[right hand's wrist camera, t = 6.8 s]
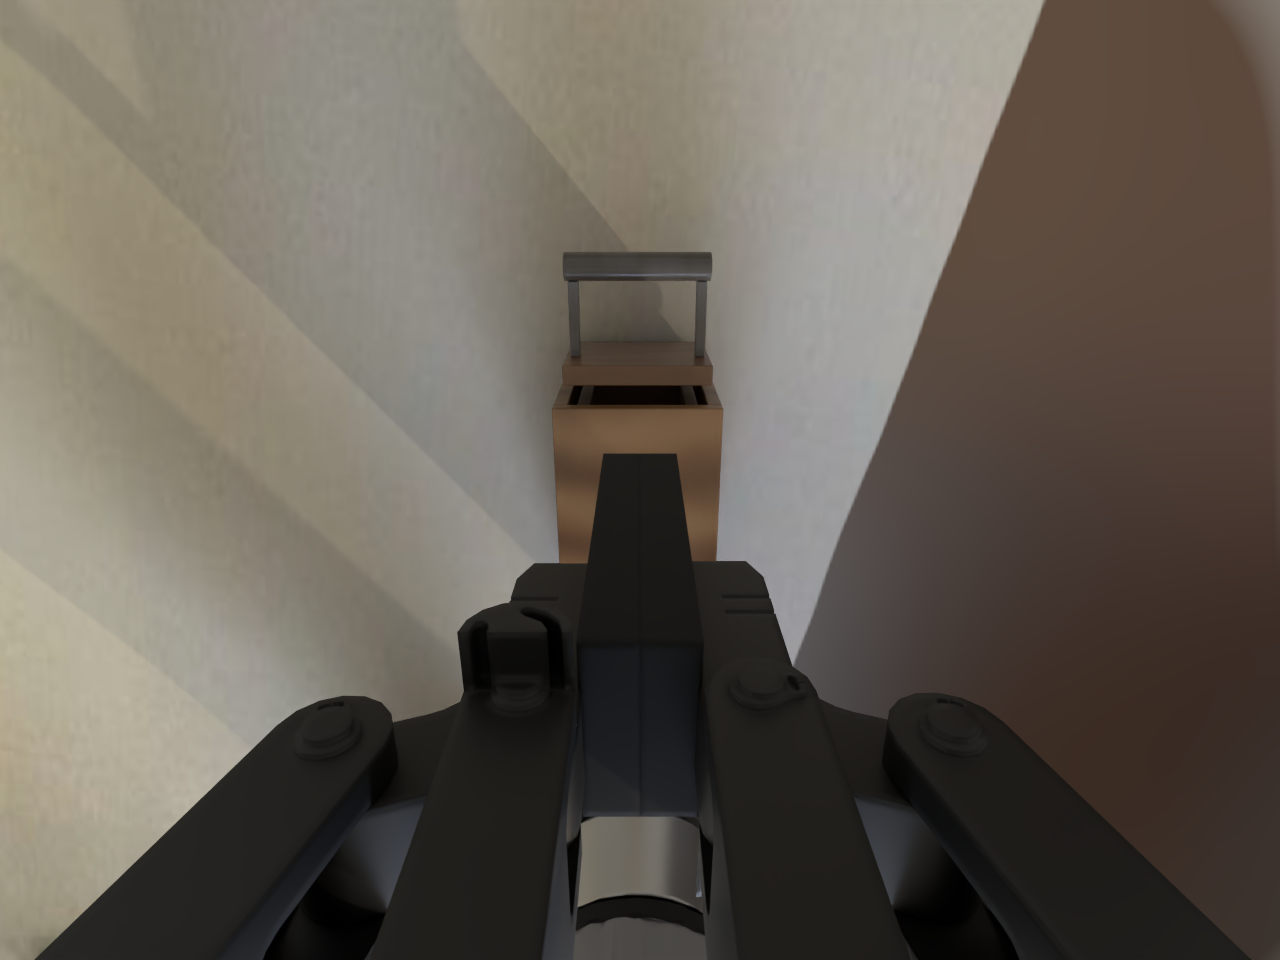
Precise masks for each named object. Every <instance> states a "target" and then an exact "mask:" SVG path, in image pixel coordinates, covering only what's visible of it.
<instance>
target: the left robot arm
mask: <svg viewBox="0 0 1280 960" xmlns="http://www.w3.org/2000/svg"><path fill="white" fill-rule="evenodd" d="M581 838H582V861H581V873H580V884H579V896H578V908H577V920H576V931H575V943H574V955H573V960H707V954H706V942H705V930H704V919H703V907H702V897H696V885H697V862H698V838H699V813H698V803H697V817H583V806H582V817H581Z"/></svg>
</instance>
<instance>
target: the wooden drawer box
mask: <svg viewBox="0 0 1280 960" xmlns="http://www.w3.org/2000/svg"><path fill="white" fill-rule="evenodd" d="M582 388H583V386H564V385H563V383H562V386H561V388H560V391H559V393H558V396H557V398H556V401H555V403H554V406H553V408H552V419H553V440H554V460H555V481H556V502H557V522H558V543H559V563H588V556H589V549H590V542H591V535H592V528H593V522H594V515H595V508H596V501H597V494H598V487H599V480H600V473H601V466H602V459H603V453H677V459H678V466H679V473H680V480H681V487H682V494H683V501H684V508H685V515H686V522H687V528H688V535H689V542H690V549H691V556H692V561H716V553H717V532H718V510H719V488H720V467H721V445H722V423H723V408H722V405H721V403H720V400H719V398H718V395H717V393H716V390H715V388H714V385H713V382H712V385H711V386H693V390H694V394H695V397H696V401H697V404H698V405H578V401H579V398H580V395H581V391H582Z"/></svg>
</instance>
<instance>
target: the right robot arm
mask: <svg viewBox="0 0 1280 960" xmlns="http://www.w3.org/2000/svg"><path fill="white" fill-rule="evenodd" d="M457 634H458V642H459V651H460V660H461V669H462V677H463V686H464V693H463V696H462V699H461V701H460V702H459V703H457V704H455V705H453V706H451V707H449V708H447V709H444V710H441V711H438V712H435V713H432V714H428V715H424V716H420V717H416V718H411V719H407V720H402V721H398V722H392V716H391V713H390V712H389V711H388V709H387V708H386V707H385V706H384V705H383V704H382V703H381V702H379V701H376V700H373V699H371V698H368V697H365V696H340V697H335V698H331V699H326V700H321V701H318V702H316V703H314V704H311V705H309V706H307V707H304V708H302V709H300V710H298V711H296V712H295V713H293V714H292V715H290V716H289V717H288V718H286V719H285V720H284V721H282V722H281V723H280V724H278V725H277V726H276V727H275V728H274V729H273V730H272V731H271V732H270V733H269V734H268V735H267V736H266V737H265V738H264V739H263V740H262V741H260V742H259V743H258V744H257V745H256V746H255V747H254V748H253V749H252V750H251V751H250V752H249V753H248V754H247V755H246V756H245V757H244V758H243V759H242V760H241V761H240V762H239V763H238V764H237V765H236V766H235V767H234V768H233V769H232V770H230V771H229V772H228V773H227V774H226V775H225V776H224V777H223V778H222V779H221V780H220V781H219V782H218V783H217V784H216V785H215V786H214V787H213V788H212V789H211V790H210V791H209V792H208V793H207V794H206V795H205V796H204V797H203V798H201V799H200V800H199V801H198V802H197V803H196V804H195V805H194V806H193V807H192V808H191V809H190V810H189V811H188V812H187V813H186V814H185V815H184V816H183V817H182V818H181V819H180V820H179V821H178V822H177V823H176V824H175V825H174V826H172V827H171V828H170V829H169V830H168V831H167V832H166V833H165V834H164V835H163V836H162V837H161V838H160V839H159V840H158V841H157V842H156V843H155V844H154V845H153V846H152V847H151V848H150V849H149V850H148V851H147V852H146V853H145V854H143V855H142V856H141V857H140V858H139V859H138V860H137V861H136V862H135V863H134V864H133V865H132V866H131V867H130V868H129V869H128V870H127V871H126V872H125V873H124V874H123V875H122V876H121V877H120V878H119V879H118V880H117V881H116V882H115V883H113V884H112V885H111V886H110V887H109V888H108V889H107V890H106V891H105V892H104V893H103V894H102V895H101V896H100V897H99V898H98V899H97V900H96V901H95V902H94V903H93V904H92V905H91V906H90V907H89V908H88V909H87V910H86V911H84V912H83V913H82V914H81V915H80V916H79V917H78V918H77V919H76V920H75V921H74V922H73V923H72V924H71V925H70V926H69V927H68V928H67V929H66V930H65V931H64V932H63V933H62V934H61V935H60V936H59V937H58V938H57V939H55V940H54V941H53V942H52V943H51V944H50V945H49V946H48V947H47V948H46V949H45V950H44V951H43V952H42V953H41V954H40V955H39V956H38V957H37V958H36V959H35V960H573V955H574V943H575V931H576V920H577V908H578V896H579V884H580V873H581V861H582V838H581V817H582V806H583V817H697V803H698V813H699V838H698V862H697V885H696V897H702V907H703V919H704V930H705V942H706V954H707V960H1251V959H1250V958H1249V957H1248V956H1247V955H1246V954H1245V953H1244V952H1243V951H1242V950H1241V949H1240V948H1239V947H1238V946H1236V945H1235V944H1234V943H1233V942H1232V941H1231V940H1230V939H1229V938H1228V937H1227V936H1226V935H1225V934H1224V933H1223V932H1222V931H1221V930H1220V929H1219V928H1218V927H1217V926H1216V925H1215V924H1214V923H1212V922H1211V921H1210V920H1209V919H1208V918H1207V917H1206V916H1205V915H1204V914H1203V913H1202V912H1201V911H1200V910H1199V909H1198V908H1197V907H1196V906H1195V905H1194V904H1193V903H1192V902H1191V901H1190V900H1188V899H1187V898H1186V897H1185V896H1184V895H1183V894H1182V893H1181V892H1180V891H1179V890H1178V889H1177V888H1176V887H1175V886H1174V885H1173V884H1172V883H1171V882H1170V881H1169V880H1168V879H1167V878H1166V877H1165V876H1163V875H1162V874H1161V873H1160V872H1159V871H1158V870H1157V869H1156V868H1155V867H1154V866H1153V865H1152V864H1151V863H1150V862H1149V861H1148V860H1147V859H1146V858H1145V857H1144V856H1143V855H1142V854H1140V853H1139V852H1138V851H1137V850H1136V849H1135V848H1134V847H1133V846H1132V845H1131V844H1130V843H1129V842H1128V841H1127V840H1126V839H1125V838H1124V837H1123V836H1122V835H1121V834H1120V833H1119V832H1118V831H1116V830H1115V829H1114V828H1113V827H1112V826H1111V825H1110V824H1109V823H1108V822H1107V821H1106V820H1105V819H1104V818H1103V817H1102V816H1101V815H1100V814H1099V813H1098V812H1097V811H1096V810H1095V809H1094V808H1093V807H1091V806H1090V805H1089V804H1088V803H1087V802H1086V801H1085V800H1084V799H1083V798H1082V797H1081V796H1080V795H1079V794H1078V793H1077V792H1076V791H1075V790H1074V789H1073V788H1072V787H1071V786H1070V785H1069V784H1067V783H1066V782H1065V781H1064V780H1063V779H1062V778H1061V777H1060V776H1059V775H1058V774H1057V773H1056V772H1055V771H1054V770H1053V769H1052V768H1051V767H1050V766H1049V765H1048V764H1047V763H1046V762H1045V761H1043V760H1042V759H1041V758H1040V757H1039V756H1038V755H1037V754H1036V753H1035V752H1034V751H1033V750H1032V749H1031V748H1030V747H1029V746H1028V745H1027V744H1026V743H1025V742H1024V741H1023V740H1022V739H1021V738H1020V737H1018V736H1017V735H1016V734H1015V733H1014V732H1013V731H1012V730H1011V729H1010V728H1009V727H1008V726H1007V725H1006V724H1005V723H1004V722H1003V721H1001V720H1000V719H999V718H997V717H996V716H994V715H993V714H992V713H990V712H989V711H988V710H986V709H985V708H983V707H981V706H979V705H976V704H974V703H972V702H970V701H967V700H965V699H963V698H960V697H955V696H950V695H945V694H941V693H916V694H913V695H910V696H907V697H904V698H902V699H899V700H898V701H897V702H896V703H895V705H894V706H893V707H892V708H891V709H890V710H889V716H888V720H886V719H882V718H878V717H873V716H869V715H864V714H860V713H855V712H852V711H848V710H845V709H842V708H838V707H835V706H833V705H831V704H829V703H827V702H825V701H823V700H821V699H819V698H818V695H817V692H816V690H815V688H814V687H813V685H812V684H811V682H810V681H809V679H808V678H807V677H806V676H805V675H804V674H802V673H801V672H799V671H798V670H797V669H795V668H794V667H792V664H791V661H790V658H789V654H788V651H787V648H786V645H785V642H784V639H783V636H782V633H781V630H780V627H779V624H778V621H777V618H776V615H775V614H774V608H773V605H772V602H771V599H770V598H769V593H768V590H767V587H766V584H765V581H764V578H763V576H762V575H761V574H760V573H758V572H757V571H756V570H755V569H754V568H753V567H752V566H751V565H749V564H748V563H747V562H746V561H692V556H691V549H690V542H689V535H688V528H687V522H686V515H685V508H684V501H683V494H682V487H681V480H680V473H679V466H678V459H677V453H603V459H602V466H601V473H600V480H599V487H598V494H597V501H596V508H595V515H594V522H593V528H592V535H591V542H590V549H589V556H588V563H534V564H533V565H532V566H531V567H530V568H529V569H528V570H526V571H525V572H524V573H523V574H522V575H521V576H520V577H519V578H518V579H517V580H516V584H515V587H514V590H513V593H512V596H511V601H510V602H509V603H504V604H500V605H497V606H494V607H491V608H488V609H484V610H482V611H480V612H479V613H477V614H476V615H474V616H472V617H471V618H469V619H468V620H466V622H465V623H464V624H463V626H462V627H461V628H460V630H459V631H458V632H457Z"/></svg>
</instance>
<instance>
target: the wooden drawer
mask: <svg viewBox="0 0 1280 960" xmlns="http://www.w3.org/2000/svg"><path fill="white" fill-rule="evenodd" d="M563 275H564V280H565V281H568V300H569V327H570V351H569V353H568V355H567V357H566V359H565V362H564V364H563V366H562V372H563V385H564V386H583V388H582V391H581V395H580V398H579V401H578V405H698V404H697V401H696V397H695V394H694V390H693V386H711V385H712V376H713V366H712V364H711V361H710V359H709V357H708V354H707V352H706V350H705V331H706V303H707V281H710V280H711V276H712V254H711V252H564V253H563ZM579 281H697V282H696V313H695V342H581V340H580V308H579Z"/></svg>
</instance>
